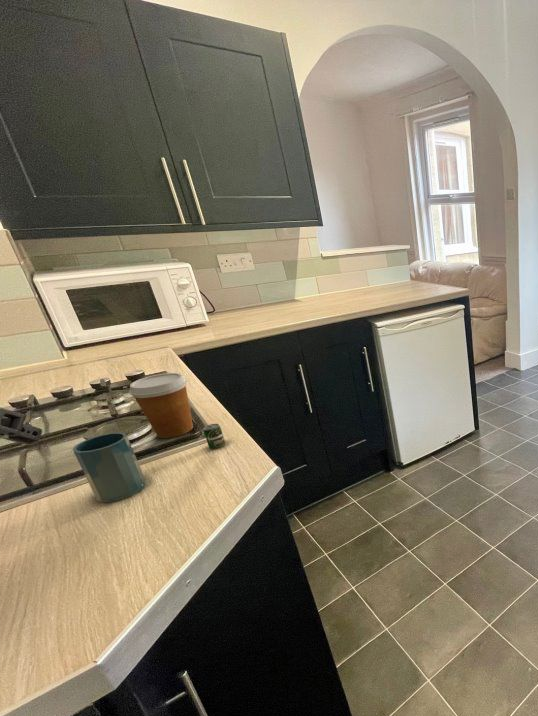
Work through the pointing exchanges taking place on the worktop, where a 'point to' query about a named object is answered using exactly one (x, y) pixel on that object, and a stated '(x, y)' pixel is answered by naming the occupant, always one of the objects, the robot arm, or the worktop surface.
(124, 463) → the cup
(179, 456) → the worktop surface
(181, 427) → the disposable coffee cup
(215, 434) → the beer can
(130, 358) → the worktop surface
